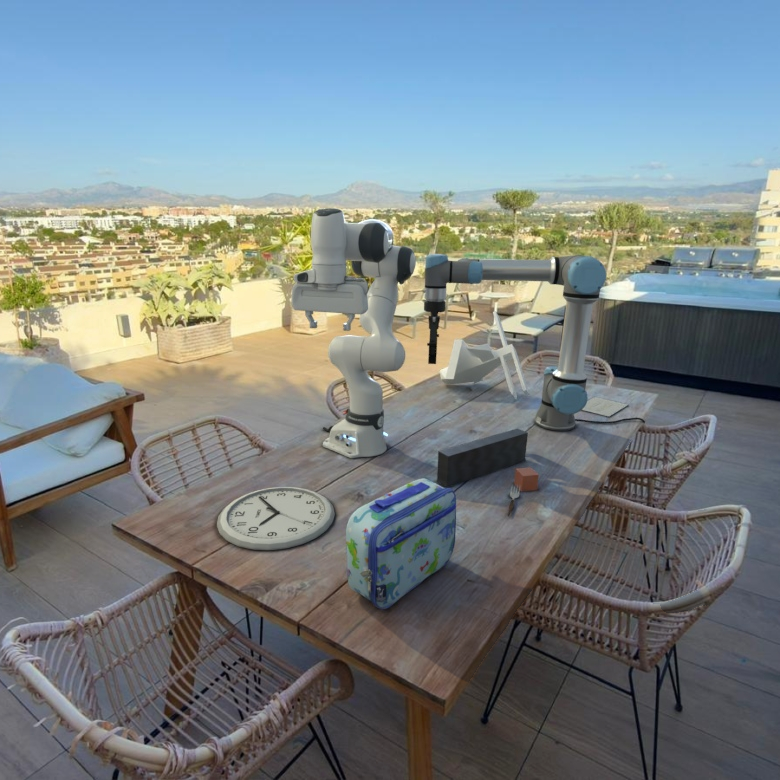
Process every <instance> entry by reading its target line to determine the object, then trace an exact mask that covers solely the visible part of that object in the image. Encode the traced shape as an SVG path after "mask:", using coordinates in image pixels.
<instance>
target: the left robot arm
mask: <svg viewBox="0 0 780 780" xmlns="http://www.w3.org/2000/svg"><path fill="white" fill-rule="evenodd" d="M345 221H346V220H345V215H344V211H343V210H341V209H338V208H333V207H331V208H330V207H329V208H320V209H317V210H315V211H314V212H313V214H312V217H311V224H310V225H311V226H310V227H311V228H310V247H311V252H312V259H311V268H308V269H305V270H304V271H303V270H302V271H300V272H297V273H295V274H293V282H295V283H294V284H293V286H292V288H291V307H292V309H293V310H294V311H300V312H304V316H305V317H306V320H307V321H308V322H309V329H317V328H318V321H317V320H315V319H314V317H313V315H314V313H315V312H317V313H331V314H345V315H346V318H347V322H345V323H343V324H342V327H343V328H342V330H343V331H345V332H350V331H351V329H352V322H353V321H354V319H355V317H356V315H359V317H358V318H359V324H360V327H361V328H362V329H363V330H364V331H365V332H366V333H368V334H369V336H363V335H351V334H350V335H348V334H347V335H340V336H339V335H338V336H335V337H333V338H332V340H331V341H330V343H329V345H328V347H327V356H328V359H329V361H330V363H331V364H332V365H333V366H334V367H336V368H337V370H339V372H340V373H341V375H342V376H343V377H344V380H345V383H346V385H347V388H348V389H347V390H348V397H349V407H348V408H347V409H345V410H344V411H343V412H342V415H343V416H344V415H345V417H344V418H343V419H342V420H340V421H338V422H337V423H336V424H334V425H331V426H329V427H328V428H327V427H325V426H323V427H322V430H324V431H325V432H329V435H328V437H327V438H325V440H323V441H322V447H323V448H326V449H327V450H331V451H333V452H335V453H336V454H337V453H338V454H340V455H341V456H344V457H347V458H349V459H357V458H368V457H369V458H370V457H377V456H380V455H382V454H383V453H385V452H386V451H387V450H388V447H387V444H386V439H385V436H386V437H388V436H389V434H388V433H386V432H385V431H384V423H385V410H384V408H383V406H384V405H383V403H384V401H383V400H384V390H383V388H382V385H381V384H380V383H379V382H378V381H377V380H375V379H374V378H373V377H371V375H369V373H368V372H377V373H378V372H379V373H389V372H391V373H392V372H396V371H399V370H400V369H401V368H402V367H403V366H404V364H405V361H406V350H405V347H404V345H403V343H401V341H400V340H399V339H397V337H396V336H395V335H394V334H395V333H394V332H393V331H394V330H393V322H394V318H395V314H396V310H397V305H398V298H399V287H398V286H399V285H403V284H405V282H406V281H407V280H409V279H410V278H411V277H412V275H413V274H414V273H415V272H414V271H415V269H416V265H417V258H416V255H415V252H414V250H413V249H412V248H411V247H409V246H404V245H402V246H399V245H394V232H393V230H392V227H390V226H389V225H388V224H387V223H385V222H384V221H381V220H379V219H365V220H362V221H360V222H345ZM347 262H350V263H351V269H352V272H353V273H354V275H356V276H347ZM366 277H367V278H371V279H372V278H373V279H374V280H373V282H372V283H371V285H370V286H369V284H368V281H367V280H366V279H364V278H366Z"/></svg>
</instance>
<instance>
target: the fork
mask: <svg viewBox="0 0 780 780" xmlns="http://www.w3.org/2000/svg"><path fill="white" fill-rule="evenodd" d="M513 485H514V483H512V485H511V488H510V492H509V497H510V498H512V499H511V501H510V503H509V505H508V511H507V512H508V513H507V517H510V514H511V513H512V511H513V509H514V503H515V502H514V501H515V499H518V498H519V497H520V492H521V490H520V487H519V488H518V485H517V486H514V487H513Z"/></svg>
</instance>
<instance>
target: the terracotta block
mask: <svg viewBox="0 0 780 780" xmlns="http://www.w3.org/2000/svg"><path fill="white" fill-rule="evenodd" d="M514 470H515V471H514V478H513V479H514V480H513V485H514V486H515V487H517V485H518V487H517V489H519V487H520V492H531V491H538V485H539V478H540V477H539V476H540V474H539V473H538V472H537V471H536V470H535V469H533V468H532V467H531V466H529V467H528V466H527V467H520V468H519V467H518V468H517V467H516V468H515V469H514Z"/></svg>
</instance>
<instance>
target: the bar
mask: <svg viewBox="0 0 780 780" xmlns="http://www.w3.org/2000/svg"><path fill="white" fill-rule="evenodd" d="M528 435H529V432H527V431H525V430H522V429H520V428H514V429H510V430H506V431H502V432H500V433H496V434H493V435H490V436H486V437H482V438H479V439H476V440H472V441H469V442H465V443H462V444H458V445H455V446H451V447H448V448H444V449H440V450H438V451H437V471H436V472H437V473H436V482H437V483H438V484H440V485H442V487H443V486H444V488H450V487H452V486H455V485H458V484H462V483H464V482H467V481H469V480H473V479H476V478H478V477H481V476H485V475H488V474H490V473H493V472H497V471H498V470H502V469H505V468H508V467H511V466H513V465H517V464H521V463H522V462H525V461H526V457H527V456H526V455H527V446H528V445H527V444H528Z"/></svg>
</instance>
